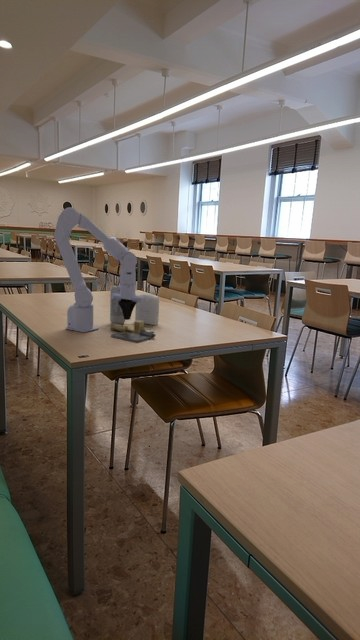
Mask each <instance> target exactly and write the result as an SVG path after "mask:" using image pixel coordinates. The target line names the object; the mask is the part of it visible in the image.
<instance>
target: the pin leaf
mask: <svg viewBox="0 0 360 640" xmlns="http://www.w3.org/2000/svg"><path fill="white" fill-rule="evenodd" d="M156 336H157V335H156V333H155V331H152V330H151V331H147V330H140V334H138V333H133V332H124V331H123V332H121V331H119V332H116V333H113V334H110V337H111V338H115V339H119V340H124V341H129V342H133V343H137V344H138V343H142V342H145V341H148V340H151V339H154V338H155V337H156Z"/></svg>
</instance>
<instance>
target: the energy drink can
mask: <svg viewBox="0 0 360 640" xmlns="http://www.w3.org/2000/svg"><path fill="white" fill-rule="evenodd" d="M113 293H117V294H120V285H115V286H114V285H113V286H111V289H110V300H109V301H110V303H109V304H110V305H109V309H110V310H109V313H110V314H109V322H110V323H111V324H112V323H114V324H119V325H124V324H125V322H126V320H125V319H124V316H123V312H122V309H121V307H120V305H119V303H118V302H119V301H120V299H112V294H113ZM111 324H110V325H111Z"/></svg>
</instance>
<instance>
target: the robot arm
mask: <svg viewBox="0 0 360 640" xmlns="http://www.w3.org/2000/svg"><path fill="white" fill-rule="evenodd" d="M76 226H77V228H79V229H80V228H81V229H82V230H83V229H84V230H86V231H88V232H89V234H91V235H92V236H93V237H95V238H96V239H97V240H99V241H100V242H101V243H102V244H103V249H104V251H106V252H107V253H108V254H109V255H111V256H112V258H113V259H115V260H117V261H119V264H120V273H119V276H120V278H119V280H120V281H119V286H120V294H117V293H113V294H112V299H120V301H119V302H118V303H119V305H120V307H121V309H122V312H123V316H124V319H125V321H128V320H131V317H132V314H133V311H134V309H135V308H136V303H137V302H139V303H144V297H140V296H137V295H136V279H137V278H136V276H137V275H136V266H137V264H138V259H137V256H136V255H135V253H133V252H131V251H130V248H129V247H126V246H125V245H124V244H123V243H121V242H120V241H121V240H120V238H119V237H114V236H108V235H107V234H106V233H105V232H104V231H103V230H102V229H101V228H99V227H98V225H96V224H95V223H94V222H93V220H91V219H90V218H88V216H85V215H84V214H82V213H81V212H79V211H78V210H77V209H76V208H74V207H66V208H64V209H63V210H62V211H61V213H60V214H59V215H58V217H57V221H56V226H55V230H54V234H53V237H54V240H55V242H56V246H57V248H58V250H59V253H60V255H61V258H62V261H63V263H64V266H65V269H66V271H67V274H68V277H69V279H70V283H71V285H72V287H73V292H74V301H75V303H73V304H72V305H69V307H68V309H67V311H66V312H67V313H66V314H67V316H66V317H67V320H66V321H67V322H66V325H67V326H66V327H65V329H67V330H71V331H75V332H80V333H87V332H91V331H95V330H99V327H97V326H94V304H93V301H94V296H93V294H92V290H91V289H90V288H89V287H88V286H87V284H86V282H85V279H84V276H83V274H82V271H81V268H80V265H79V264H78V260H77V258H76V255H75V252H74V250H73V248H72V244H71V242H70V239H69V236H70V235H71V232H72V230H73V229H74V228H75V227H76Z"/></svg>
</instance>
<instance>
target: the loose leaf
mask: <svg viewBox="0 0 360 640" xmlns="http://www.w3.org/2000/svg"><path fill="white" fill-rule="evenodd" d="M133 324H134V325H133ZM133 324H129V323H124V324H122V325H119V324H114V323H112V324H110V325H109V326H110V329H111V330H113V331H118V332H123V331H124V332H129V333H134V334H140V330H147V331H152V328H149V327H145V323H144V321H141V320H138V321H135V320H134V323H133Z"/></svg>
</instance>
